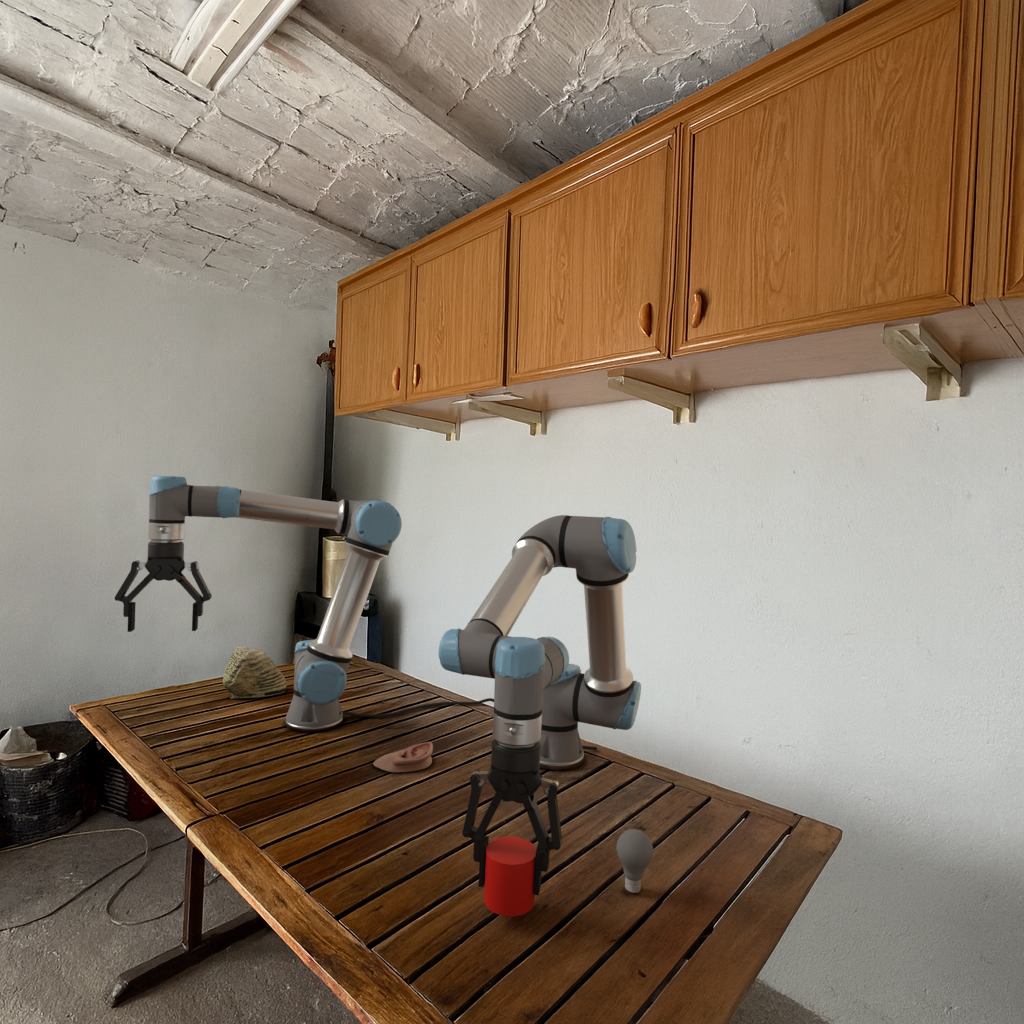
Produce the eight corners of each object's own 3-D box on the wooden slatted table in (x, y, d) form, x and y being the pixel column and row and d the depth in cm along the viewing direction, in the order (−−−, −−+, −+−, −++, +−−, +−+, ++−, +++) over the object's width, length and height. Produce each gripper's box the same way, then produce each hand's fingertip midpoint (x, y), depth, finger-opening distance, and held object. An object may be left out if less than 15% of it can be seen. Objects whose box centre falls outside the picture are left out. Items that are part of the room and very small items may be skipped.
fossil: (218, 695, 195) (220, 647, 195) (278, 685, 208) (279, 640, 207) (228, 703, 189) (230, 653, 188) (289, 692, 201) (290, 645, 201)
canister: (540, 891, 101) (543, 842, 100) (525, 922, 93) (527, 869, 93) (494, 879, 103) (496, 832, 103) (475, 908, 96) (478, 857, 96)
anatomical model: (368, 752, 148) (387, 734, 159) (367, 769, 148) (386, 750, 159) (422, 759, 145) (438, 741, 156) (421, 776, 145) (437, 757, 156)
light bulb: (610, 879, 108) (613, 822, 108) (644, 879, 109) (647, 822, 109) (619, 902, 102) (622, 840, 102) (655, 901, 103) (658, 840, 103)
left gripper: (100, 540, 143) (97, 634, 143) (220, 543, 150) (217, 632, 150) (112, 538, 150) (109, 627, 150) (226, 541, 157) (223, 626, 157)
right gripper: (444, 741, 96) (438, 890, 96) (582, 757, 92) (574, 911, 93) (457, 724, 103) (451, 862, 104) (585, 738, 100) (578, 881, 100)
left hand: (163, 630), depth 150 cm, fingers open, 13 cm apart
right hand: (509, 885), depth 98 cm, fingers closed on canister, 8 cm apart
